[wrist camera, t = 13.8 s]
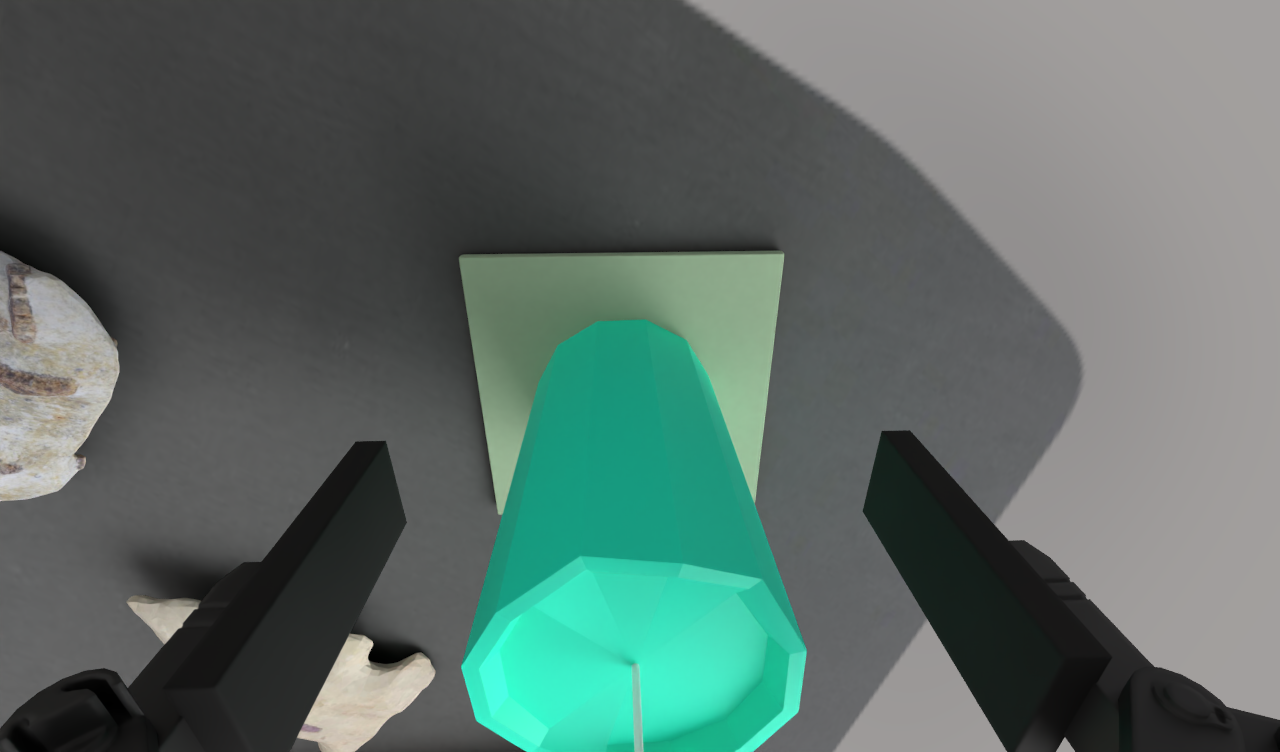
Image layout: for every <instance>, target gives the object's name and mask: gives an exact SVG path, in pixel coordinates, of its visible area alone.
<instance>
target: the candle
mask: <svg viewBox="0 0 1280 752" xmlns="http://www.w3.org/2000/svg"><path fill="white" fill-rule="evenodd" d="M806 654H807V649H806V647H805V644H804V641H803V638H802V635H801V633H800V630H799V627H798V624H797V621H796V619H795V616H794V613H793V610H792V607H791V605H790V602H789V599H788V596H787V593H786V591H785V588H784V585H783V582H782V580H781V577H780V574H779V571H778V568H777V566H776V563H775V560H774V557H773V554H772V552H771V549H770V546H769V543H768V540H767V538H766V535H765V532H764V529H763V526H762V524H761V521H760V518H759V515H758V512H757V510H756V507H755V504H754V501H753V498H752V496H751V493H750V490H749V487H748V484H747V482H746V479H745V476H744V473H743V470H742V468H741V465H740V462H739V459H738V456H737V454H736V451H735V448H734V445H733V442H732V440H731V437H730V434H729V431H728V429H727V426H726V423H725V420H724V417H723V415H722V412H721V409H720V406H719V403H718V401H717V398H716V395H715V392H714V389H713V387H712V384H711V381H710V378H709V375H708V374H707V372H706V371H705V369H704V367H703V366H702V364H701V362H700V361H699V359H698V358H697V356H696V354H695V353H694V351H693V350H692V348H691V346H690V345H689V343H688V342H687V340H686V339H684V338H682V337H680V336H678V335H676V334H674V333H672V332H670V331H668V330H666V329H664V328H662V327H660V326H658V325H656V324H654V323H652V322H650V321H648V320H646V319H644V320H617V321H597V322H595V323H594V324H592V325H590V326H589V327H587V328H585V329H584V330H582V331H580V332H579V333H577V334H575V335H574V336H572V337H570V338H569V339H567V340H565V341H564V342H562V343H560V344H559V345H558V346H557V348H556V350H555V352H554V354H553V355H552V357H551V359H550V361H549V363H548V365H547V367H546V369H545V371H544V373H543V375H542V377H541V379H540V381H539V383H538V386H537V390H536V394H535V397H534V401H533V405H532V408H531V412H530V416H529V419H528V423H527V427H526V430H525V434H524V438H523V441H522V445H521V449H520V452H519V456H518V460H517V463H516V467H515V471H514V474H513V478H512V482H511V485H510V489H509V493H508V497H507V500H506V504H505V508H504V511H503V515H502V519H501V522H500V526H499V530H498V533H497V537H496V541H495V544H494V548H493V552H492V555H491V559H490V563H489V566H488V570H487V574H486V577H485V581H484V585H483V588H482V592H481V596H480V599H479V603H478V607H477V610H476V614H475V618H474V621H473V625H472V629H471V632H470V636H469V640H468V643H467V647H466V651H465V655H464V658H463V662H462V666H461V668H462V672H463V675H464V679H465V682H466V686H467V689H468V693H469V696H470V700H471V703H472V707H473V710H474V714H475V718H476V721H477V722H479V723H480V724H482V725H484V726H485V727H487V728H489V729H490V730H492V731H493V732H495V733H497V734H498V735H500V736H501V737H503V738H505V739H506V740H508V741H510V742H511V743H513V744H514V745H516V746H518V747H519V748H521V749H523V750H524V751H526V752H753V751H754V750H755V749H757V748H758V747H759V746H760V745H761V744H762V743H763V742H765V741H766V740H767V739H768V738H769V737H770V736H772V735H773V734H774V733H775V732H776V731H777V730H778V729H780V728H781V727H782V726H783V725H784V724H785V723H786V722H788V721H789V720H790V719H791V718H792V717H793V716H794V715H796V714H797V713H798V711H799V704H800V697H801V690H802V682H803V675H804V668H805V661H806Z"/></svg>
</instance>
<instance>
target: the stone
mask: <svg viewBox="0 0 1280 752" xmlns="http://www.w3.org/2000/svg"><path fill="white" fill-rule="evenodd" d="M117 345H118V343H117V341H116V339H114V338H113V337H111V336H109V335H108V333H107V332H106V330H105V329H104V327H103V325H102V324H101V322H100V321H99V319H98V318H97V316H96V315H95V314H94V312H93V311H92V309H91V308H90V307H89V306H88V304H87V303H86V302H85V301H84V300H83V299H82V298H81V297H80V296H79V295H78V294H77V293H75V292H74V291H73V290H72V289H71V288H70V287H69V286H67V285H66V284H65V283H64V282H63V281H62V280H60V279H58V278H56V277H55V276H53V275H51V274H49V273H45V272H42V271H39V270H37V269H35V268H33V267H31V266H29V265H26V264H24V263H22V262H21V261H19V260H18V259H16V258H14V257H12V256H10V255H8V254H6V253H4V252H2V251H0V501H9V500H24V499H30V498H34V497H38V496H42V495H45V494H49V493H53V492H56V491H58V490H60V489H61V488H62V487H63V486H64V485H65V484H66V483H67V482H68V481H69V480H70V479H71V478H72V477H73V476H74V475H75V474H76V472H77V471H78V470H81V469H83V468H84V466H85V463H86V457H85V456H83V455H76V454H74V453H75V452H76V451H77V450H78V448H79V447H80V446H81V445H82V444H83V443H84V441H85V440H86V439H87V437H88V436H89V434H90V431H91V429H92V428H93V426H94V424H95V423H96V421H97V420H98V418H99V416H100V415H101V414H102V412H103V411H104V409H105V408H106V406H107V405H108V403H109V401H110V399H111V397H112V392H113V389H114V387H115V384H116V381H117V378H118V375H119V366H120V365H119V362H118V350H117Z"/></svg>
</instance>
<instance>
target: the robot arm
mask: <svg viewBox="0 0 1280 752" xmlns="http://www.w3.org/2000/svg"><path fill="white" fill-rule="evenodd" d="M863 513H864V514H865V516H866V518H867V519H868V521H869V523H870V524H871V526H872V528H873V529H874V531H875V532H876V534H877V536H878V537H879V539H880V541H881V542H882V544H883V546H884V547H885V549H886V551H887V552H888V554H889V556H890V557H891V559H892V561H893V562H894V564H895V566H896V567H897V569H898V571H899V572H900V574H901V576H902V577H903V579H904V581H905V582H906V584H907V586H908V587H909V589H910V591H911V592H912V594H913V596H914V597H915V599H916V601H917V602H918V604H919V606H920V607H921V609H922V611H923V612H924V614H925V616H926V617H927V619H928V621H929V622H930V624H931V626H932V627H933V629H934V631H935V632H936V634H937V636H938V637H939V639H940V641H941V642H942V644H943V646H944V647H945V649H946V651H947V652H948V654H949V656H950V657H951V659H952V661H953V662H954V664H955V666H956V667H957V669H958V671H959V672H960V674H961V676H962V677H963V679H964V681H965V682H966V684H967V686H968V687H969V689H970V691H971V692H972V694H973V696H974V697H975V699H976V701H977V702H978V704H979V706H980V707H981V709H982V711H983V712H984V714H985V716H986V717H987V719H988V721H989V722H990V724H991V726H992V727H993V729H994V731H995V732H996V734H997V736H998V737H999V739H1000V741H1001V742H1002V744H1003V746H1004V747H1005V749H1006V751H1007V752H1056V750H1057V749H1058V747H1059V746H1060V744H1061V742H1062V740H1063V739H1064V737H1066V739H1067V740H1068V742H1069V743H1070V745H1071V746H1072V747H1073V749H1074V750H1075V752H1280V720H1277V719H1273V718H1269V717H1265V716H1261V715H1257V714H1253V713H1249V712H1245V711H1241V710H1237V709H1232V708H1229V707H1226V706H1225V705H1224V704H1223V702H1222V701H1221V700H1220V699H1218V698H1217V697H1216V696H1214V695H1213V694H1212V693H1210V692H1209V691H1208V690H1207V689H1205V688H1204V687H1203V686H1201V685H1200V684H1198V683H1196V682H1194V681H1192V680H1190V679H1188V678H1186V677H1185V676H1183V675H1181V674H1178V673H1175V672H1172V671H1169V670H1166V669H1163V668H1157V667H1154V666H1153V665H1152V664H1151V663H1150V662H1149V661H1148V660H1147V659H1146V658H1145V657H1144V656H1143V655H1142V654H1141V653H1140V652H1139V651H1138V649H1137V648H1136V647H1135V646H1134V645H1132V643H1131V642H1130V641H1129V640H1128V639H1127V638H1126V637H1125V636H1124V635H1123V634H1122V633H1121V632H1120V631H1119V630H1118V628H1117V627H1116V626H1115V625H1114V624H1113V623H1112V622H1111V621H1110V620H1109V619H1108V618H1107V617H1106V616H1105V615H1104V614H1103V613H1102V612H1101V611H1100V610H1099V608H1097V606H1096V605H1095V604H1094V603H1093V602H1092V601H1091V600H1090V599H1089V600H1087V599H1086V595H1085V594H1084V593H1083V592H1082V591H1081V590H1080V589H1079V588H1078V586H1077V585H1076V584H1075V583H1074V582H1070V580H1069V579H1070V578H1069V577H1068V576H1067V575H1066V574H1065V573H1064V572H1063V571H1062V570H1061V569H1060V568H1059V567H1058V566H1057V565H1056V563H1055V562H1054V561H1053V560H1052V559H1051V558H1050V557H1048V556H1047V555H1045V554H1044V553H1042V552H1041V551H1039V550H1038V549H1036V548H1035V547H1033V546H1032V545H1030V544H1029V543H1027V542H1026V541H1024V540H1023V541H1022V540H1020V541H1008V540H1007V538H1006V537H1005V536H1004V535H1003V534H1002V533H1001V532H1000V531H999V530H998V528H997V527H996V526H995V525H994V524H993V523H992V522H991V521H990V519H989V518H988V517H987V516H986V515H985V514H984V513H983V512H982V511H981V509H980V508H979V507H978V506H977V505H976V504H975V503H974V502H973V500H972V499H971V498H970V497H969V496H968V495H967V494H966V493H965V492H964V490H963V489H962V488H961V487H960V486H959V485H958V484H957V483H956V481H955V480H954V479H953V478H952V477H951V476H950V475H949V474H948V473H947V471H946V470H945V469H944V468H943V467H942V466H941V465H940V464H939V462H938V461H937V460H936V459H935V458H934V457H933V456H932V455H931V454H930V452H929V451H928V450H927V449H926V448H925V447H924V446H923V445H922V443H921V442H920V441H919V440H918V439H917V438H916V437H915V436H914V435H913V433H912V432H911V431H882V432H881V437H880V441H879V445H878V449H877V453H876V458H875V462H874V466H873V470H872V474H871V479H870V483H869V487H868V491H867V496H866V500H865V504H864V508H863ZM406 523H407V522H406V518H405V514H404V510H403V506H402V502H401V499H400V495H399V491H398V487H397V483H396V479H395V475H394V471H393V467H392V463H391V459H390V455H389V452H388V448H387V444H386V441H363V442H355V444H354V445H353V446H352V447H351V449H350V450H349V451H348V452H347V454H346V455H345V456H344V458H343V459H342V460H341V461H340V463H339V464H338V465H337V467H336V468H335V469H334V470H333V472H332V473H331V474H330V475H329V477H328V478H327V479H326V481H325V482H324V483H323V484H322V486H321V487H320V488H319V489H318V491H317V492H316V493H315V495H314V496H313V497H312V498H311V500H310V501H309V502H308V503H307V505H306V506H305V507H304V509H303V510H302V511H301V512H300V514H299V515H298V516H297V518H296V519H295V520H294V521H293V523H292V524H291V525H290V526H289V528H288V529H287V530H286V532H285V533H284V534H283V535H282V537H281V538H280V539H279V540H278V542H277V543H276V544H275V546H274V547H273V548H272V549H271V551H270V552H269V553H268V554H267V556H266V557H265V558H264V560H263V561H262V562H244V563H242V564H241V565H240V566H238V567H237V568H236V569H234V570H233V571H232V572H230V573H229V574H228V575H226V576H225V577H224V578H222V579H221V580H220V581H218V582H217V583H216V584H215V586H214V587H213V588H212V589H211V590H210V592H209V593H208V594H207V595H206V596H205V597H204V599H203V600H202V601H201V602H200V603H199V605H198V609H194V610H193V612H192V613H191V614H190V615H189V616H188V618H187V619H186V620H185V621H184V622H183V626H182V628H178V629H177V631H176V632H175V633H174V634H173V635H172V637H171V638H170V639H169V640H168V641H167V642H166V644H165V645H164V646H163V647H162V648H161V650H160V651H159V652H158V653H157V654H156V655H155V657H154V658H153V659H152V660H151V661H150V663H149V664H148V665H147V666H146V667H145V669H144V670H143V671H142V672H141V673H140V674H139V676H138V677H137V678H136V679H135V680H134V682H133V683H132V684H131V685H130V686H129V687H128V688H127V687H126V685H125V684H124V682H123V681H122V679H121V678H120V676H119V675H118V673H117V672H114V671H111V670H108V669H104V668H103V669H95V670H87V671H83V672H80V673H78V674H75V675H72V676H69V677H67V678H64V679H62V680H60V681H58V682H56V683H55V684H53V685H51V686H49V687H47V688H46V689H44V690H42V691H40V692H39V693H37V694H36V695H35V696H34V697H32V698H31V699H30V700H28V701H27V702H26V703H25V704H23V705H22V706H21V707H19V708H18V709H17V710H16V711H15V712H14V713H13V715H12V716H11V717H10V718H9V719H8V720H7V721H6V722H5V724H4V725H3V726H2V727H1V729H0V752H290V750H291V748H292V746H293V744H294V742H295V740H296V738H297V736H298V734H299V732H300V730H301V728H302V726H303V724H304V722H305V720H306V719H307V717H308V715H309V713H310V711H311V709H312V707H313V705H314V703H315V701H316V699H317V697H318V695H319V693H320V691H321V689H322V687H323V685H324V683H325V681H326V679H327V677H328V675H329V673H330V672H331V670H332V668H333V666H334V664H335V662H336V660H337V658H338V656H339V654H340V652H341V650H342V648H343V646H344V644H345V642H346V640H347V638H348V636H349V634H350V632H351V630H352V628H353V627H354V625H355V623H356V621H357V619H358V617H359V615H360V613H361V611H362V609H363V607H364V605H365V603H366V601H367V599H368V597H369V595H370V593H371V591H372V589H373V587H374V585H375V583H376V581H377V580H378V578H379V576H380V574H381V572H382V570H383V568H384V566H385V564H386V562H387V560H388V558H389V556H390V554H391V552H392V550H393V548H394V546H395V544H396V542H397V540H398V538H399V536H400V534H401V533H402V531H403V529H404V527H405V525H406Z"/></svg>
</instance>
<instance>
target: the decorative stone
mask: <svg viewBox="0 0 1280 752" xmlns="http://www.w3.org/2000/svg"><path fill="white" fill-rule="evenodd" d="M200 602H201V601H200V600H196V599H190V598H178V599H158V598H153V597H149V596H146V595H135V596H132V597H130V598H129V599H128V600H127V603H128V605H129V606H130V607H131V609H132V610H133V611H134V613H135V614H137V615H138V616H139V617H141V619H142V620H143V621H144V622H145V623H146V624H147V625H149V626H150V627H151V628H152V630H153V631H154V632H155V634H156V635H157V636H158V638H159V639H160V640H161V641H162V642H163V643H164V644H166V642H167V641H168V640H169V639H170V638H171V637H172V635H173V634H174V633H175V632H176V631H177V629H178V628H182V626H183V622H184V621H185V620H186V619H187V618H188V616H189V615H190V614H191V613H192V612H193V610H194V609H198V605H199V603H200ZM372 647H373V641H372V640H370V639H369V638H367V637H366V636H365V635H357V634H349V636H348V638H347V640H346V642H345V644H344V646H343V648H342V650H341V652H340V654H339V656H338V658H337V660H336V662H335V664H334V666H333V668H332V670H331V672H330V673H329V675H328V677H327V679H326V681H325V683H324V685H323V687H322V689H321V691H320V693H319V695H318V697H317V699H316V701H315V703H314V705H313V707H312V709H311V711H310V713H309V715H308V717H307V719H306V720H305V722H304V724H303V726H302V728H301V730H300V732H299V734H298V736H297V738H301V739H306V740H312V741H318V745H319V749H320V750H321V752H354V751H356V750H357V749H358V748H359V747H360V746H362V745H363V744H364V743H366V742H367V741H368V740H370V739H371V738H372V737H373V736H375V734H376V733H377V732H378V730H379V729H380V728H381V726H382V725H383V724H384V723H385V722H386V721H387V720H388V719H389V718H390V717H391V716H393V715H395V714H396V713H399V712H402V711H403V710H404V709H405V708H406V707H407V706H409V705H410V704H411V703H412V702H413V701H414V700H415V698H416V697H417V696H418V694H419V693H420V692H421V690H423V689H424V688H426V687H427V686H428V685H429V683H430V682H431V681H432V679H433V678H434V676H435V669H434V668H433V666H432V664H431V662H430V659H429V658H427V657H426V656H425V655H424V654H423V653H422V652H421V653H415V654H413V655H411V656H409V657H407V658H405V659H403V660H401V661H399V662H397V663H391V664H381V663H374V662H371V661H369V660H368V655H369V652H370V651H371V649H372Z"/></svg>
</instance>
